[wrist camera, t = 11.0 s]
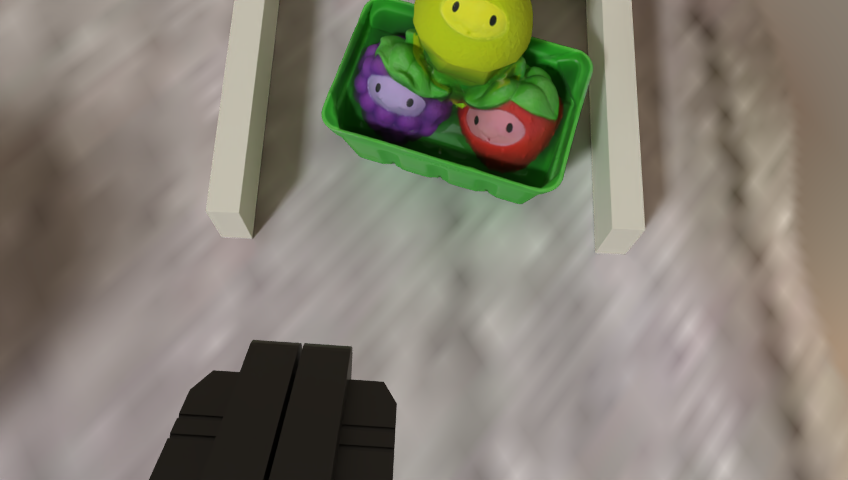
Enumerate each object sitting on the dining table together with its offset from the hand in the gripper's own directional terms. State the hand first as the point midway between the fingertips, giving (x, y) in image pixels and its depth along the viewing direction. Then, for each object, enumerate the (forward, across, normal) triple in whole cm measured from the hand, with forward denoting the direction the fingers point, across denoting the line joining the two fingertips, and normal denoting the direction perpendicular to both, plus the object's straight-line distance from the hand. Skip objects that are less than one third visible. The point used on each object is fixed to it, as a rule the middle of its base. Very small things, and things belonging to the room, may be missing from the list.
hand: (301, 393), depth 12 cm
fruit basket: (+31, -4, +5) cm, 32 cm away
